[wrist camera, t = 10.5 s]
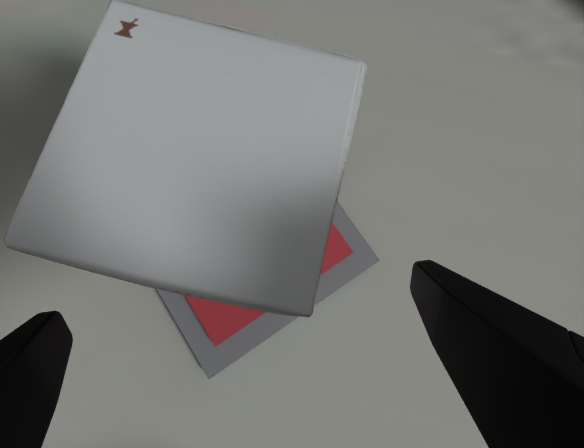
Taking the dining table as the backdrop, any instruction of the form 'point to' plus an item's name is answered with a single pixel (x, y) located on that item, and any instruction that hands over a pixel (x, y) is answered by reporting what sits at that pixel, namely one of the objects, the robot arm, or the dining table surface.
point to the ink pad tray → (257, 324)
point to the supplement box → (195, 161)
